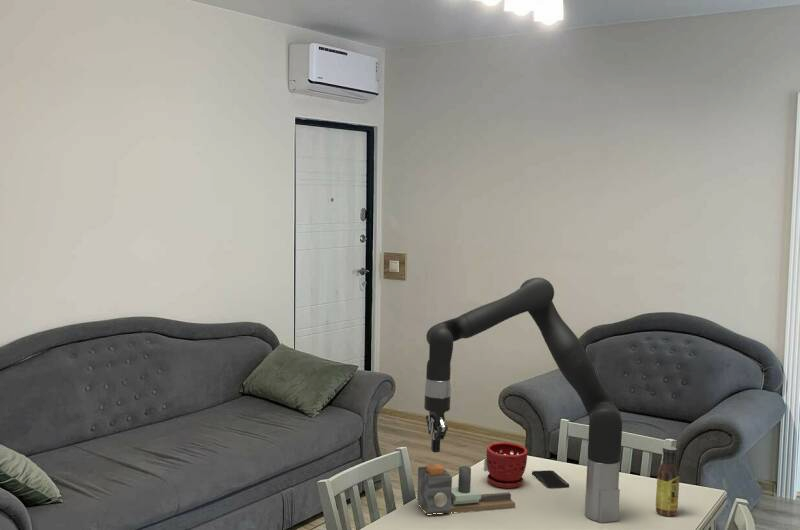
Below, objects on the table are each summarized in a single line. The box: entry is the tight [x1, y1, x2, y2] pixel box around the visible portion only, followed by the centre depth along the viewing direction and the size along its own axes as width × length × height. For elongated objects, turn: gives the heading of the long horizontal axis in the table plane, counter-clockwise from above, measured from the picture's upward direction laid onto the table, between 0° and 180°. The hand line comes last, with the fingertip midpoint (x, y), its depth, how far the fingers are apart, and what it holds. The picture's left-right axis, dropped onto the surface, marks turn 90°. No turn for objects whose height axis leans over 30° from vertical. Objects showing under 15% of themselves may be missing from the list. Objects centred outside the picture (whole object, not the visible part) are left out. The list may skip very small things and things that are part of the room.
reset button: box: [425, 463, 445, 475], centre depth 241 cm, size 4×4×3 cm
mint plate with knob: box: [451, 465, 482, 505], centre depth 244 cm, size 7×8×10 cm
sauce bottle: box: [655, 445, 680, 517], centre depth 244 cm, size 7×6×20 cm
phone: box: [531, 470, 570, 490], centre depth 271 cm, size 8×1×15 cm
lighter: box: [483, 450, 505, 472], centre depth 279 cm, size 7×2×8 cm, turn 101°
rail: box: [417, 466, 516, 514], centre depth 244 cm, size 11×28×12 cm, turn 107°
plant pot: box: [486, 442, 528, 489], centre depth 266 cm, size 13×13×12 cm
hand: (435, 451), depth 241 cm, fingers closed
